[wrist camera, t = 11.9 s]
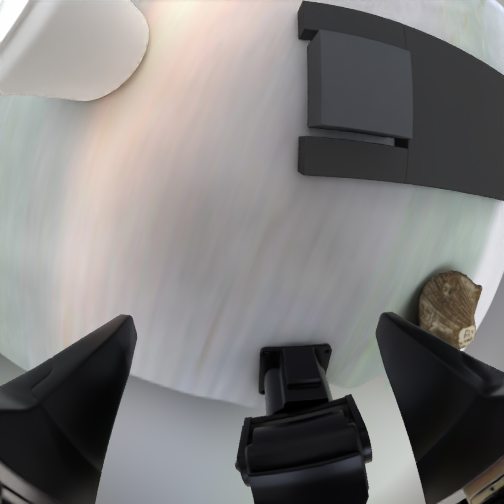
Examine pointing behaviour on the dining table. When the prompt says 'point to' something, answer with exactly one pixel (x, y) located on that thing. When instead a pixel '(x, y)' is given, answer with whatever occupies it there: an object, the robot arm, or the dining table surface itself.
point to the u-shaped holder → (419, 113)
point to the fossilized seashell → (449, 308)
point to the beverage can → (69, 47)
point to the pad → (359, 86)
